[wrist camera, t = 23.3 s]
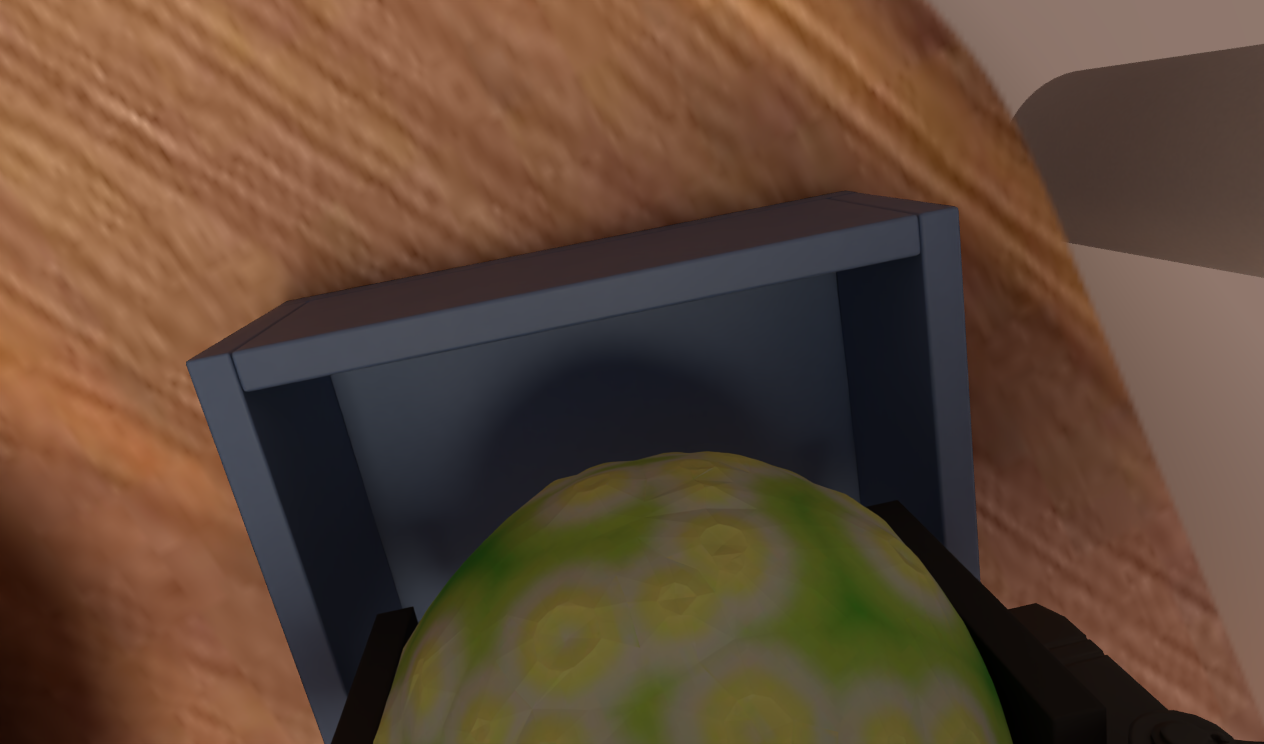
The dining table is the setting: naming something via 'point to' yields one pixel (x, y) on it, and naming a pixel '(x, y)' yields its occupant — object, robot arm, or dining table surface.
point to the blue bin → (586, 396)
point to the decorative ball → (692, 622)
